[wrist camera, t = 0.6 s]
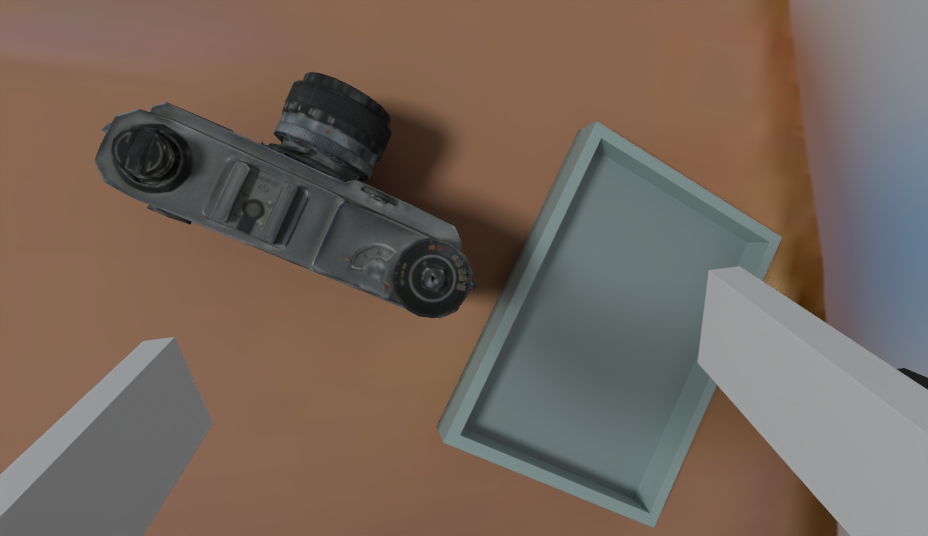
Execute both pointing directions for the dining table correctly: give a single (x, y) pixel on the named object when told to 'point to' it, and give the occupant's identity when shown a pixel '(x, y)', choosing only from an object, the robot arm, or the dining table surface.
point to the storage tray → (604, 330)
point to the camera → (295, 192)
